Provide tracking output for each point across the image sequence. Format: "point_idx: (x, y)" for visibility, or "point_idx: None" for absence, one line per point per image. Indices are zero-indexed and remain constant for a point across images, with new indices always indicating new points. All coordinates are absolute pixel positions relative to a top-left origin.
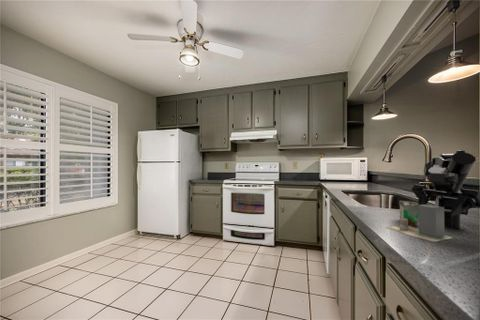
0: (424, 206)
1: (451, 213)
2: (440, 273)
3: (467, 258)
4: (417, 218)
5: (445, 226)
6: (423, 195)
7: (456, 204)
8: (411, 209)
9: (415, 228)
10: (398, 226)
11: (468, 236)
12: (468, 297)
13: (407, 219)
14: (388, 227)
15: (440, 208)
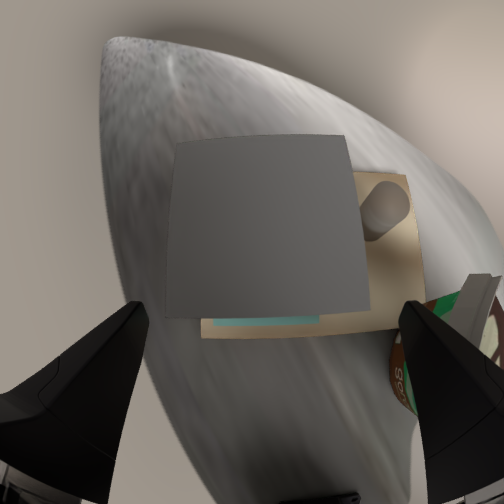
0: (282, 136)
1: (128, 304)
2: (137, 58)
3: (115, 165)
4: (412, 391)
5: (320, 500)
6: (501, 438)
7: (61, 372)
8: (455, 322)
9: (367, 314)
10: (413, 256)
11: (216, 469)
12: (107, 50)
13: (381, 214)
14: (407, 189)
15: (172, 236)
